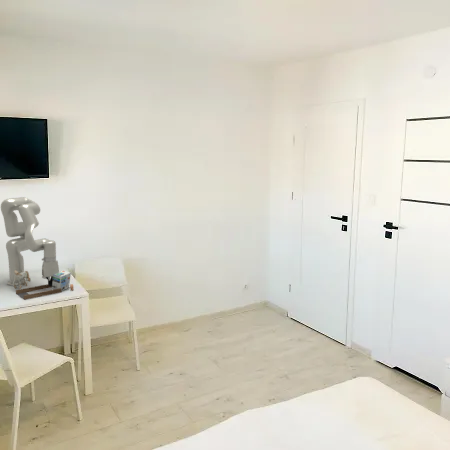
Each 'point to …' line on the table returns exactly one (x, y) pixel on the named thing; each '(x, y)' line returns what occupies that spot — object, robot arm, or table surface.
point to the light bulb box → (61, 280)
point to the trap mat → (22, 295)
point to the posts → (71, 287)
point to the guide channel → (39, 292)
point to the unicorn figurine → (21, 276)
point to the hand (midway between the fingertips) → (50, 285)
